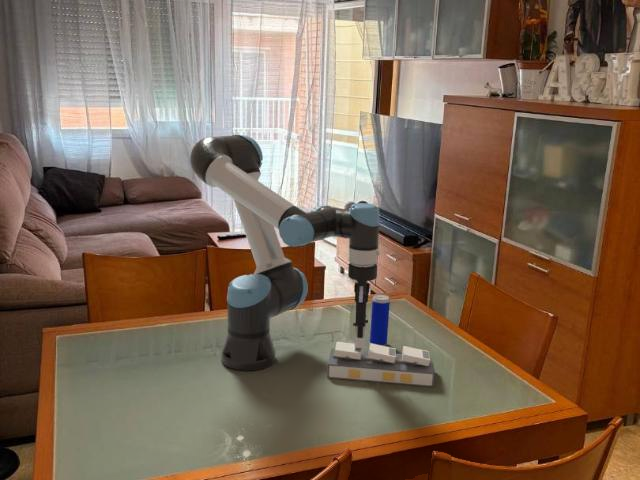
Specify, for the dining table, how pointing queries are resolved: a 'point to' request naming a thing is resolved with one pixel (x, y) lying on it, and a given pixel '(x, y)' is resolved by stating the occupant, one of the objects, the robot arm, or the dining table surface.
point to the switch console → (380, 370)
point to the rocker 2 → (382, 353)
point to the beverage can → (379, 320)
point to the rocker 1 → (347, 350)
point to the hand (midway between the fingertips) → (359, 347)
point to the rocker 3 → (415, 356)
